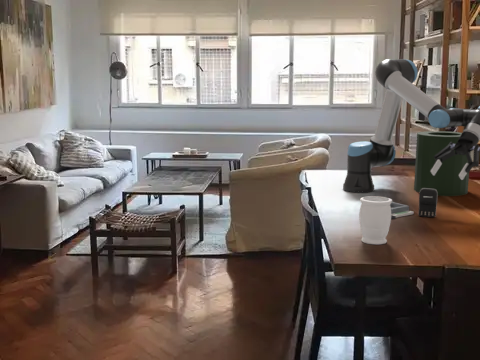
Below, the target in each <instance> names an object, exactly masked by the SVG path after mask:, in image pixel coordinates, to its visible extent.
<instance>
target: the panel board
mask: <svg viewBox="0 0 480 360" xmlns="http://www.w3.org/2000/svg"><path fill="white" fill-rule="evenodd" d="M390 207H391V215H392V216H396V218H400V217H407V216H410V215H411V216H412V215H414V211H412V210H410V206H409V205H407V204H402V203H398V202H394V201H392V203H391V204H390Z"/></svg>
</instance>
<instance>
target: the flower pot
mask: <svg viewBox="0 0 480 360" xmlns="http://www.w3.org/2000/svg"><path fill="white" fill-rule="evenodd" d="M462 133H463V132H459V131H441V130H440V131H439V130H438V131H436V130H435V131H430V130H429V131H420V132H417V133H416V143H415V145H416V147H415V148H416V149H415V162H414V163H415V166H414V182H413V184H414V185H413V191H415V192H417V193H420V190H421V189H422V188H430V189H436V190H437V194H438V195H437V197H438V196H440V197H441V196H442V197H458V196H459V197H461V196H465V195H467V194H468V193H469V179H470V172H469V173H467V174H466V176H465V177H464V179H463V180H461V179H460V177H459V176H458V175H459V174H460V172H461V171H462V169H463V167H464V166H465V164H466V163H468V160H467V156H466V155H458V154H457V155H454V156H452V157H450V158H448V159H446V160H445V161H443V162H441V163H442V165H441V166H440V168H439V169H438V171H437V172H436V174H435V175H432V173H431V172H430V171H431V169H432V168H433V164H434V163H435V161H436V160H435V159H434V156H435V155H436V154H437V153H439V152H440V151H441V150H443V149H444V148H445V147H446V146H448V144H449V143H450V142H452V143H453V144H456V143H457V142H458V139H459V137H460V135H461V134H462ZM454 152H456V151H455V150H454ZM471 152H472V151H471ZM471 152H470V154H471ZM440 160H441V159H440ZM468 164H469V163H468Z"/></svg>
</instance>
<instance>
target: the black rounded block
mask: <svg viewBox="0 0 480 360" xmlns="http://www.w3.org/2000/svg"><path fill="white" fill-rule="evenodd" d="M418 193H419V192H418ZM437 195H438V194H437V190H436V189H430V188H422V189H421V190H420V193H419V195H418V216H419V217H422V218H424V217H425V218H436V217H437V204H438V196H437Z"/></svg>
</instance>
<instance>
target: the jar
mask: <svg viewBox="0 0 480 360" xmlns="http://www.w3.org/2000/svg"><path fill="white" fill-rule="evenodd" d="M359 202H360V207H359V213H358V215H359V217H358V218H359V226H360V227H359V228H360V232H361V235H362V237H361V242H363V243H364V244H367V245H374V246H375V245H377V246H378V245H385V244H386V243H387V242H388V241H387V236H388V234H389V230H390V226H391V222H392V219H391V207H390V204H391V203H392V202H393V199H392V198H389V197H387V196H378V195H376V196H374V195H373V196H372V195H371V196H370V195H369V196H363V197H360V199H359Z"/></svg>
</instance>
